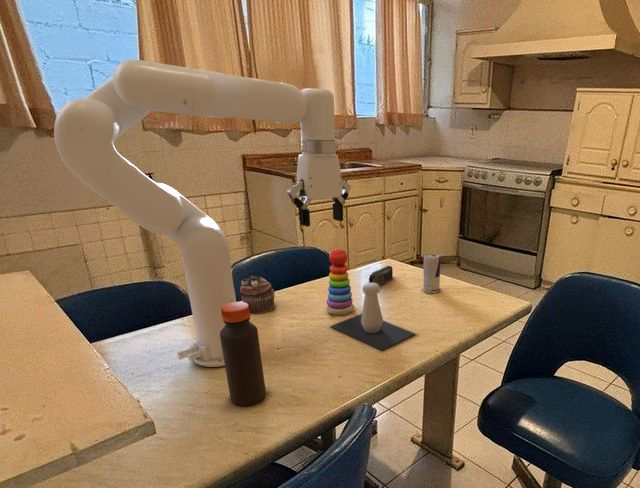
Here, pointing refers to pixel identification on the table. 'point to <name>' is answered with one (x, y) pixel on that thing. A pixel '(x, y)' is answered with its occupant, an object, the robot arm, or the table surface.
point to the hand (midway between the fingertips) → (322, 222)
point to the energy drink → (431, 273)
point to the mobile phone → (381, 275)
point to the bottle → (242, 355)
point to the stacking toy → (339, 285)
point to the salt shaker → (371, 309)
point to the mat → (380, 339)
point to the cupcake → (257, 294)
